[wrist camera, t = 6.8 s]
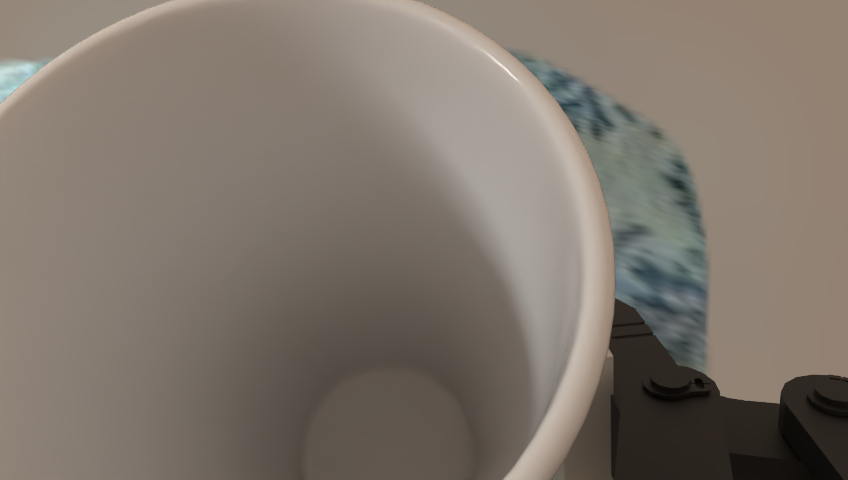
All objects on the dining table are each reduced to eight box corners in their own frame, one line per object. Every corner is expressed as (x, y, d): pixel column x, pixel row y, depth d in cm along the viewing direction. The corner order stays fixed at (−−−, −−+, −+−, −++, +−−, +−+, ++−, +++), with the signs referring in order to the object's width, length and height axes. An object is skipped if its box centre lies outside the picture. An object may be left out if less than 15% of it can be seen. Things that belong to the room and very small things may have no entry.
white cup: (317, 329, 21) (72, -65, 8) (525, 371, 20) (657, 8, 7) (248, 554, 18) (-319, 554, 5) (486, 616, 18) (582, 818, 4)
